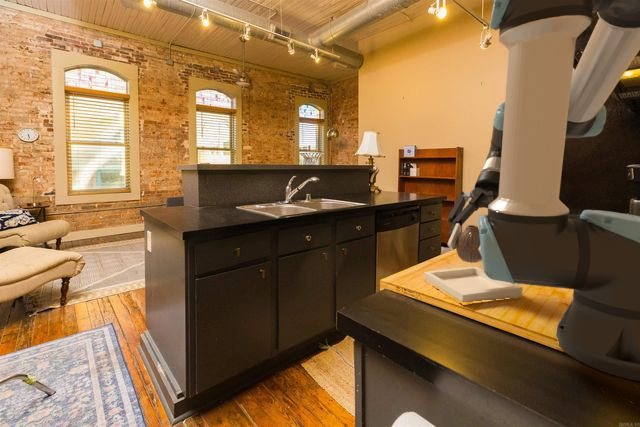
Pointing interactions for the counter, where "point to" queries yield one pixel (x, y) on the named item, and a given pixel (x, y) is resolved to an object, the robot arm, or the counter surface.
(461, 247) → the vase
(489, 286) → the tray
